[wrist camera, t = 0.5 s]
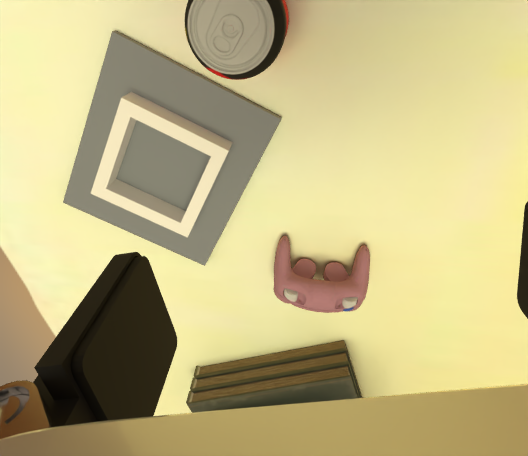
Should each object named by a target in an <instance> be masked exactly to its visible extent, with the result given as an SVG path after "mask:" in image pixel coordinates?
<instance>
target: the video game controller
mask: <svg viewBox="0 0 528 456" xmlns="http://www.w3.org/2000/svg"><path fill="white" fill-rule="evenodd" d="M369 267H370V254H369V250H368V248H367V246H365V245H362V246H361V247H360V249H359V250H358V252H357V255H356V257H355V261H354V264H353V268H352V273H351V275H350V276H349V275H348V274H347V272H346V270H345V268H344V267H343V265H341V264H340V263H337V262H332V263H329V264H327V265H326V267H325V270H324V273H323V278H324V280H316V279H313V277H314V274H315V272H316V265H315V264H314V262H312V261H311V260H309V259H300V260H299V261H298V262H297V263H296V265H295V266H294V267H293V268H291V263H290V243H289V239H288V237H287V236H283V237H282V238H281V239H280V241H279V243H278V247H277V251H276V257H275V263H274V293H275V295H276V296H277V298H278V299H280V300H281V301H283V302H285V303H290V304H292V305H294V306H297V307H299V308H302V309H306V310H310V311H316V312H326V313H329V312H341V311H353V310H356V309H357V308H359V307H360V305H361V304H362V302H363V300H364V299H365V296H366V292H367V288H368V281H369Z"/></svg>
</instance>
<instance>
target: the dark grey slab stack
mask: <svg viewBox="0 0 528 456" xmlns="http://www.w3.org/2000/svg"><path fill="white" fill-rule="evenodd" d="M190 389H191V391H189V394H188V398H187V402H186V403H187V405H188V407H189V408H190V410H191V412H192V413H195V412H206V411H217V410H228V409H239V408H251V407H263V406H274V405H286V404H298V403H310V402H321V401H333V400H345V399H356V398H362V396H361V393H360V390H359V386H358V383H357V380H356V377H355V373H354V370H353V367H352V364H351V360H350V357H349V354H348V351H347V348H346V345H345V342H344V340H343V341H337V342H332V343H327V344H321V345H316V346H311V347H305V348H300V349H295V350H289V351H284V352H279V353H273V354H268V355H263V356H257V357H252V358H247V359H241V360H236V361H231V362H225V363H220V364H215V365H209V366H204V367H199V366H196V369H195V373H194V378H193V380H192V384H191V387H190Z"/></svg>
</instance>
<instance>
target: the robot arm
mask: <svg viewBox="0 0 528 456" xmlns="http://www.w3.org/2000/svg"><path fill="white" fill-rule="evenodd" d="M517 299H518V304H519V306H520V309H521V310H522V312H523V313H524V314H525V316H526V317H527V318H528V202H527V203H526V205H525V211H524V222H523V233H522V245H521V256H520V268H519V279H518V290H517ZM176 347H177V336H176V332H175V330H174V327H173V324H172V322H171V319H170V316H169V314H168V311H167V308H166V306H165V303H164V300H163V298H162V295H161V292H160V290H159V287H158V284H157V281H156V279H155V276H154V273H153V271H152V268H151V265H150V263H149V260H148V259H147V257H145V256H141V255H140V254H139V253H138V252H133V253H126V254H119V255H115V256H114V257H113V258H112V260H111V261H110V262H109V264H108V265H107V267H106V268H105V269H104V271H103V272H102V274H101V275H100V276H99V278H98V279H97V281H96V282H95V283H94V285H93V286H92V288H91V289H90V290H89V292H88V293H87V295H86V296H85V297H84V299H83V300H82V302H81V303H80V304H79V306H78V307H77V309H76V310H75V311H74V313H73V314H72V316H71V317H70V318H69V320H68V321H67V323H66V324H65V325H64V327H63V328H62V330H61V331H60V332H59V334H58V335H57V337H56V338H55V340H54V341H53V342H52V344H51V345H50V346H49V348H48V349H47V351H46V352H45V354H44V355H43V356H42V358H41V359H40V361H39V362H38V363H37V365H36V366H35V369H36V371H37V373H38V374H39V375H38V376H37V378H36V379H35V381H34V382H30V381H27V380H22V381H14V382H11V383H7V384H5V385H2V386H0V456H528V384H521V385H508V386H496V387H484V388H472V389H460V390H449V391H437V392H426V393H414V394H402V395H391V396H379V397H368V398H356V399H345V400H333V401H321V402H310V403H298V404H286V405H274V406H263V407H251V408H239V409H228V410H217V411H206V412H195V413H184V414H173V415H162V416H153V415H154V412H155V409H156V406H157V404H158V401H159V398H160V395H161V392H162V389H163V386H164V383H165V380H166V377H167V374H168V371H169V368H170V365H171V362H172V360H173V357H174V354H175V351H176Z"/></svg>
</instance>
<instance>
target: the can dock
mask: <svg viewBox="0 0 528 456" xmlns="http://www.w3.org/2000/svg"><path fill="white" fill-rule="evenodd" d="M280 120H281V117H280V116H278V115H277V114H275V113H273V112H271V111H269V110H267V109H265V108H263V107H261V106H259V105H257V104H255V103H254V102H252V101H250V100H248V99H246V98H244V97H242V96H240V95H238V94H236V93H234V92H232V91H231V90H229V89H227V88H225V87H223V86H221V85H219V84H217V83H215V82H213V81H211V80H209V79H208V78H206V77H204V76H202V75H200V74H198V73H196V72H194V71H192V70H190V69H188V68H186V67H185V66H183V65H181V64H179V63H177V62H175V61H173V60H171V59H169V58H167V57H165V56H164V55H162V54H160V53H158V52H156V51H154V50H152V49H150V48H148V47H146V46H144V45H142V44H141V43H139V42H137V41H135V40H133V39H131V38H129V37H127V36H125V35H123V34H121V33H119V32H118V31H112V34H111V38H110V41H109V45H108V48H107V52H106V55H105V59H104V62H103V66H102V69H101V73H100V76H99V79H98V83H97V86H96V90H95V93H94V97H93V100H92V104H91V107H90V111H89V114H88V118H87V121H86V125H85V128H84V132H83V135H82V138H81V142H80V145H79V149H78V152H77V156H76V159H75V163H74V166H73V170H72V173H71V177H70V180H69V184H68V187H67V191H66V194H65V197H64V201H63V203H65V204H68V205H70V206H72V207H74V208H77V209H79V210H81V211H83V212H86V213H88V214H90V215H92V216H95V217H97V218H99V219H101V220H103V221H106V222H108V223H110V224H112V225H115V226H117V227H119V228H121V229H124V230H126V231H128V232H130V233H133V234H135V235H137V236H139V237H142V238H144V239H146V240H148V241H151V242H153V243H155V244H157V245H160V246H162V247H164V248H166V249H168V250H171V251H173V252H175V253H177V254H180V255H182V256H184V257H186V258H189V259H191V260H193V261H195V262H198V263H200V264H202V265H204V266H205V264H206V262H207V261H208V259H209V257H210V255H211V253H212V251H213V249H214V247H215V245H216V243H217V241H218V239H219V237H220V236H221V234H222V232H223V230H224V228H225V226H226V224H227V222H228V220H229V218H230V216H231V214H232V213H233V211H234V209H235V207H236V205H237V203H238V201H239V199H240V197H241V195H242V193H243V191H244V190H245V188H246V186H247V184H248V182H249V180H250V178H251V176H252V174H253V172H254V170H255V168H256V166H257V165H258V163H259V161H260V159H261V157H262V155H263V153H264V151H265V149H266V147H267V145H268V143H269V142H270V140H271V138H272V136H273V134H274V132H275V130H276V128H277V126H278V124H279V122H280Z"/></svg>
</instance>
